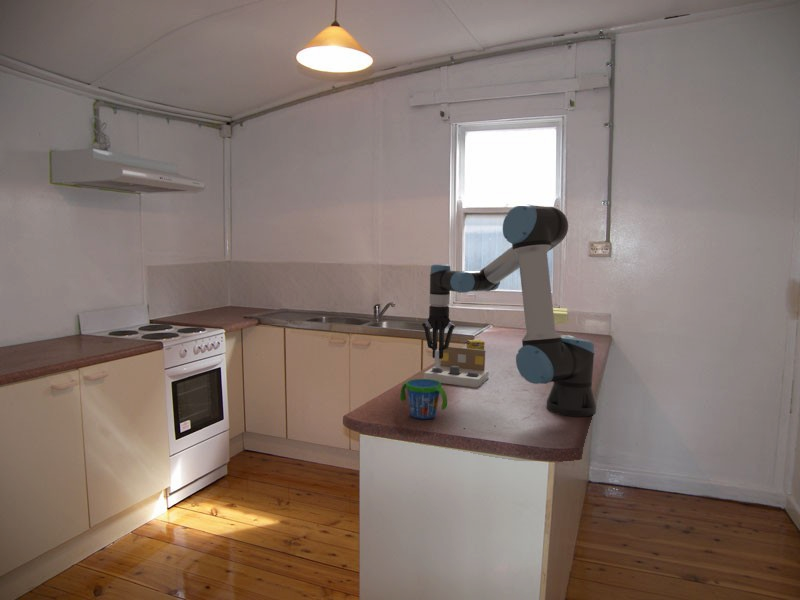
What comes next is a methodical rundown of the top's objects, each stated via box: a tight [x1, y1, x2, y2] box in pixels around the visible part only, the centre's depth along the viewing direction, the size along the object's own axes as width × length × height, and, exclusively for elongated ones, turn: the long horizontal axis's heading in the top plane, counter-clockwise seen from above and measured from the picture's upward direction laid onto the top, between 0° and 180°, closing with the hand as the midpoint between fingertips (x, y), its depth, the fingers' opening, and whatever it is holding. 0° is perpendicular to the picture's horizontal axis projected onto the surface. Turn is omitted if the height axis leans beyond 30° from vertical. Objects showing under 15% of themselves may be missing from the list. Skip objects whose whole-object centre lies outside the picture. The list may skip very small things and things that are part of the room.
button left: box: [431, 367, 442, 373], centre depth 211 cm, size 4×4×4 cm
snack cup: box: [399, 378, 448, 420], centre depth 165 cm, size 16×10×10 cm
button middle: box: [450, 366, 460, 375], centre depth 209 cm, size 4×4×4 cm
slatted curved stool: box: [553, 307, 569, 324], centre depth 298 cm, size 30×16×18 cm, turn 164°
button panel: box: [423, 346, 490, 388], centre depth 211 cm, size 16×21×11 cm
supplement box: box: [465, 339, 485, 350], centre depth 236 cm, size 6×6×11 cm
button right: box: [468, 372, 478, 377], centre depth 206 cm, size 4×4×4 cm
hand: (437, 366), depth 211 cm, fingers closed
